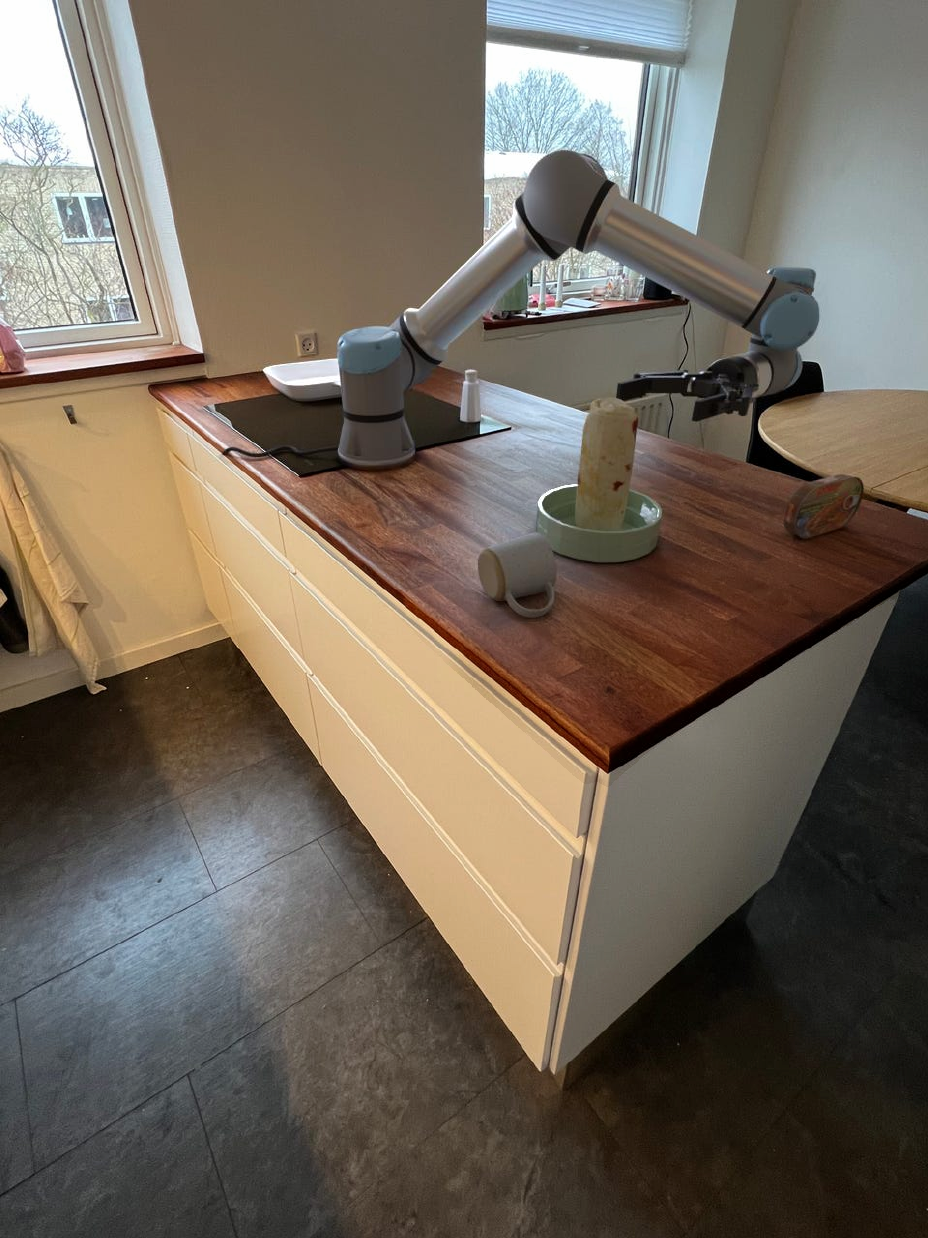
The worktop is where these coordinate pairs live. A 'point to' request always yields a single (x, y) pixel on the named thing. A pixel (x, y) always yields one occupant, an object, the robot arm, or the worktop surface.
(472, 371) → the pepper shaker
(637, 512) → the bowl
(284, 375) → the pan
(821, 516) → the tin
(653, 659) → the worktop surface
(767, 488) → the worktop surface
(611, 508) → the food model
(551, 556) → the ceramic mug
